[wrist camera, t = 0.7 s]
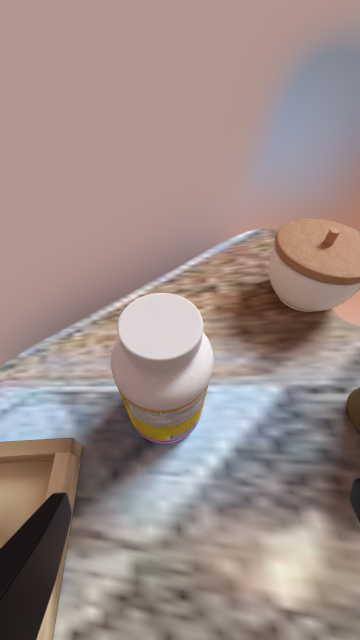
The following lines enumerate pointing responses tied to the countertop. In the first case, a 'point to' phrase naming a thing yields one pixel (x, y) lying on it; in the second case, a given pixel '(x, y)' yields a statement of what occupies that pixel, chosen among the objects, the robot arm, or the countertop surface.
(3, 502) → the tray
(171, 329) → the supplement bottle
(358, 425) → the cork
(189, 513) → the countertop surface
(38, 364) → the countertop surface
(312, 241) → the lidded jar
